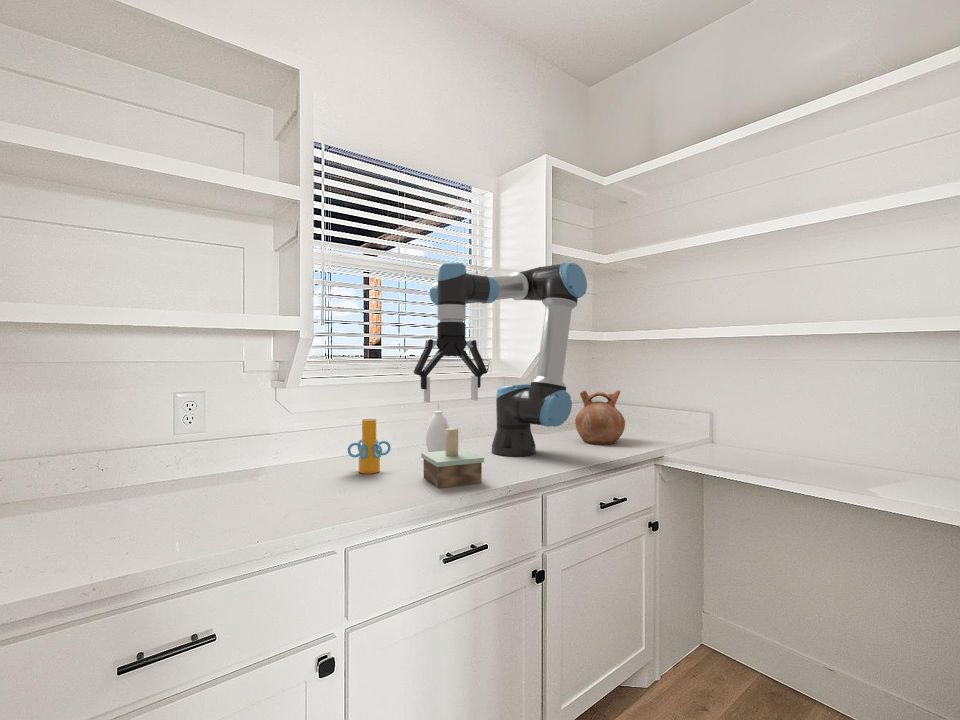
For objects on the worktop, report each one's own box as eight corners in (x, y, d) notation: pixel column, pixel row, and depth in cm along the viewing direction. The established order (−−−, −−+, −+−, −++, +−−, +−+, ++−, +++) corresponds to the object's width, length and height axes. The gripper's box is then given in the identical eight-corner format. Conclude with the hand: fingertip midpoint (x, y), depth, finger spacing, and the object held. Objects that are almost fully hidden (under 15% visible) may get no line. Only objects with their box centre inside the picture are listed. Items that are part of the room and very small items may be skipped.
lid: (464, 453, 144) (464, 424, 144) (484, 462, 132) (484, 431, 132) (421, 457, 138) (421, 427, 138) (437, 467, 127) (437, 434, 127)
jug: (623, 439, 199) (623, 388, 198) (626, 447, 181) (626, 392, 181) (576, 437, 203) (576, 387, 202) (574, 445, 185) (574, 391, 185)
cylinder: (378, 477, 138) (377, 423, 138) (342, 475, 140) (342, 422, 140) (394, 467, 150) (394, 417, 150) (361, 466, 152) (361, 416, 152)
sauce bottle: (441, 462, 157) (441, 404, 157) (421, 459, 161) (421, 403, 161) (455, 457, 164) (455, 402, 164) (435, 455, 168) (435, 401, 167)
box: (463, 472, 143) (463, 453, 143) (481, 482, 132) (481, 462, 132) (423, 477, 138) (423, 457, 138) (438, 488, 127) (438, 466, 127)
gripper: (487, 323, 143) (487, 398, 144) (402, 320, 133) (401, 401, 133) (499, 322, 136) (499, 400, 137) (410, 319, 126) (410, 403, 126)
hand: (451, 401), depth 135 cm, fingers open, 13 cm apart
